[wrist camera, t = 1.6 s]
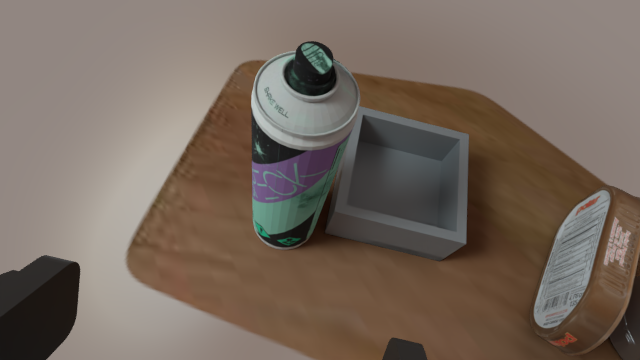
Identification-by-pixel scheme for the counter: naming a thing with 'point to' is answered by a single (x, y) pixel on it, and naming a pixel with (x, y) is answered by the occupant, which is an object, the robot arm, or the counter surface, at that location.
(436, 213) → the box
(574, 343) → the tin
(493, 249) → the counter surface
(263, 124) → the spray can
